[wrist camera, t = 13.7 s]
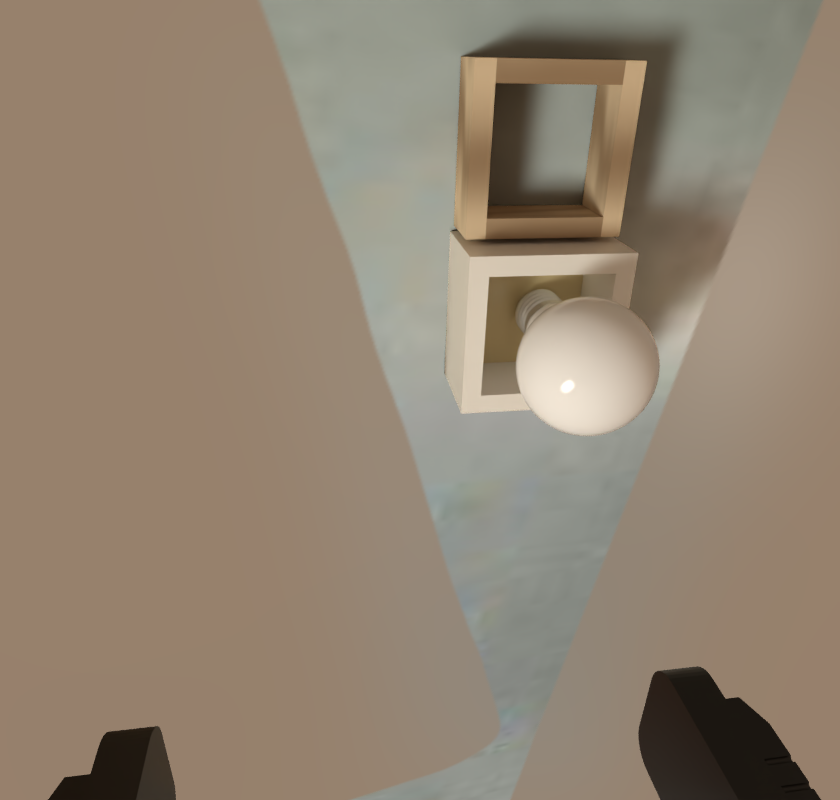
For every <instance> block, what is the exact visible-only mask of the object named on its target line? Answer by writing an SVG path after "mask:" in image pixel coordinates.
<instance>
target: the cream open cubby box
mask: <svg viewBox="0 0 840 800" xmlns="http://www.w3.org/2000/svg"><path fill="white" fill-rule="evenodd" d="M638 255H639V253H638V252H636V251H635V250H633V249H632V248H630V247H628V246H627V245H625V244H624V243H622V242H620V241H619V240H617V239H616V238H614V237H579V238H526V239H473V240H465V238H464V237H463V236H462V235H461V233H460V232H459V231H450V246H449V271H448V297H447V322H446V347H445V372H444V373H445V375H446V378H447V380H448V383H449V385H450V387H451V390H452V392H453V395H454V397H455V400H456V402H457V404H458V407H459V409H460V412H461V414H462V413H480V412H498V411H516V410H531V409H530V408H529V407H528V405H527V404H526V402H525V401H524V399H523V397H522V395H521V392H520V389H519V386H518V383H517V378H516V356H517V351H518V348H519V344H520V342H521V339H522V337H523V335H524V333H523V332H522V331H521V330H520V328H519V327H518V325H517V323H516V320H515V310H516V307H517V304H518V303H519V301H520V300H521V298H522V297H523V296H525V295H526V294H527V293H529V292H531V291H533V290H537V289H546V290H550V291H552V292H554V293H555V294H556V295H557V296H558V297H559V298H560V299H561V300H562V301H564V300H567V299H571V298H576V297H584V296H592V297H601V298H606V299H609V300H612V301H615V302H618V303H620V304H622V305H624V306H625V307H627V308H629V307H630V301H631V295H632V290H633V284H634V278H635V272H636V267H637V261H638Z"/></svg>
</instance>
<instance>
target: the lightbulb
mask: <svg viewBox="0 0 840 800" xmlns="http://www.w3.org/2000/svg"><path fill="white" fill-rule="evenodd" d="M515 320H516V323H517V325H518V327H519V328H520V330H521V331H522V332H523V333H524V335H523V337H522V339H521V342H520V344H519V348H518V351H517V356H516V378H517V383H518V386H519V389H520V392H521V395H522V397H523V399H524V401H525V402H526V404H527V405H528V407H529V408H530V409H531V411H532V412H533V413H534V414H535V415H536V416H537V417H538V418H539V419H540V420H542V421H543V422H544V423H546V424H547V425H549V426H551V427H552V428H554V429H556V430H559V431H561V432H564V433H567V434H571V435H577V436H597V435H602V434H606V433H610V432H613V431H615V430H617V429H620V428H621V427H623V426H625V425H627V424H628V423H630V422H631V421H632V420H634V419H635V418H636V417H637V416H638V415H639V414H640V413H641V412H642V411H643V410H644V408H645V407H646V406H647V404H648V403H649V401H650V399H651V398H652V396H653V393H654V391H655V388H656V385H657V382H658V377H659V367H660V363H659V354H658V349H657V345H656V342H655V340H654V338H653V335H652V334H651V332H650V330H649V329H648V327H647V326H646V324H645V323H644V322H643V321H642V320H641V318H640V317H639V316H637V315H636V314H635V313H634V312H633V311H631V310H630V309H629V308H627V307H625V306H624V305H622V304H620V303H618V302H615V301H612V300H609V299H606V298H601V297H592V296H584V297H576V298H571V299H567V300H564V301H562V300H561V299H560V298H559V297H558V296H557V295H556V294H555V293H554V292H552V291H550V290H546V289H537V290H533V291H531V292H529V293H527V294H526V295H525V296H523V297H522V298H521V300H520V301H519V303H518V304H517V307H516V310H515Z"/></svg>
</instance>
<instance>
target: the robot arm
mask: <svg viewBox="0 0 840 800" xmlns="http://www.w3.org/2000/svg"><path fill="white" fill-rule="evenodd" d="M639 745H640V751H641V755H642V758H643V762H644V764H645V767H646V769H647V771H648V774H649V776H650V778H651V780H652V782H653V784H654V787H655V789H656V791H657V793H658V795H659V797H660V800H821V799H820V798H819V796H818V795H817V793H816V792H815V790H814V789H811V788H810V786H809V781H808V780H807V778H806V777H805V775H804V774H803V773H802V771H801V770H800V768H799V767H798V765H797V764H796V762H793V761H792V760H791V755H790V753H789V752H788V750H787V749H786V748H785V746H784V745H783V743H782V742H781V740H780V739H779V737H778V736H777V734H776V733H775V731H774V730H773V728H772V727H771V725H770V724H769V723H768V722H767V721H766V720H765V719H763V718H762V717H761V716H760V715H759V714H758V713H756V712H755V711H754V710H753V709H752V708H751V707H749V706H748V705H747V704H746V703H745V702H744V701H742V700H741V699H740V698H738V697H737V698H729V699H725V697H724V696H723V694H722V693H721V691H720V690H719V688H718V686H717V685H716V683H715V682H714V680H713V679H712V677H711V676H710V674H709V673H708V672H707V671H706V670H704V669H703V668H701V667H689V668H681V669H672V670H663V671H657V672H655V673H654V675H653V677H652V680H651V684H650V688H649V692H648V696H647V699H646V703H645V707H644V711H643V714H642V718H641V722H640V726H639ZM48 800H176V794H175V785H174V781H173V777H172V772H171V768H170V764H169V760H168V757H167V753H166V749H165V744H164V740H163V736H162V732H161V730H160V728H159V727H158V726H155V727H147V728H137V729H129V730H120V731H111V732H107V733H106V734H105V735H104V736H103V738H102V740H101V742H100V745H99V748H98V751H97V755H96V758H95V761H94V764H93V768H92V771H91V774H89V775H81V776H72V777H65V778H64V779H63V780H62V782H61V783H60V784H59V786H58V787H57V788H56V790H55V791H54V793H53V794H52V795H51V797H50V798H49V799H48Z"/></svg>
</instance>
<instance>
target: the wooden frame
mask: <svg viewBox="0 0 840 800" xmlns="http://www.w3.org/2000/svg"><path fill="white" fill-rule="evenodd" d="M646 65H647V61H639V60H613V59H562V58H511V57H461V72H460V96H459V120H458V143H457V167H456V190H455V214H454V226H455V227H456V228H457V230H458V231H459V232H460V233H461V235H462V236H463V237H464V238H465V240H473V239H526V238H579V237H619V235H620V229H621V222H622V216H623V210H624V203H625V197H626V191H627V185H628V178H629V172H630V166H631V159H632V153H633V147H634V140H635V134H636V128H637V121H638V115H639V109H640V103H641V96H642V90H643V84H644V77H645V71H646ZM495 83H524V84H594V85H597V93H596V101H595V108H594V116H593V124H592V132H591V139H590V147H589V155H588V162H587V170H586V178H585V186H584V193H583V201H582V205H513V206H488V191H489V175H490V160H491V144H492V129H493V114H494V98H495Z"/></svg>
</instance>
